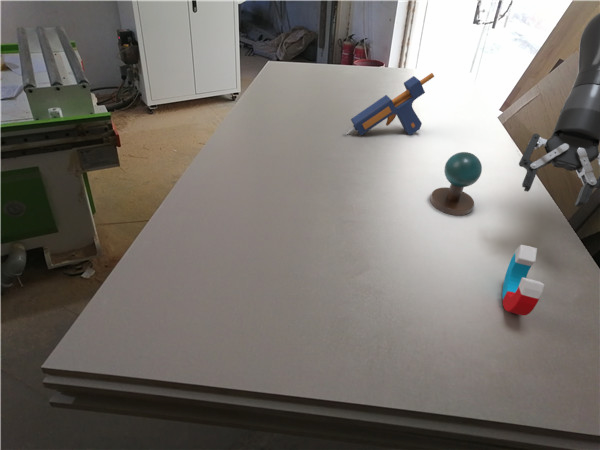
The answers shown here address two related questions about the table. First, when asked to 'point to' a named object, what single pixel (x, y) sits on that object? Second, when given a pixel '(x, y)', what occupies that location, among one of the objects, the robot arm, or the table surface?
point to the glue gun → (393, 109)
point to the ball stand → (457, 184)
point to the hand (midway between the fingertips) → (552, 197)
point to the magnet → (521, 283)
